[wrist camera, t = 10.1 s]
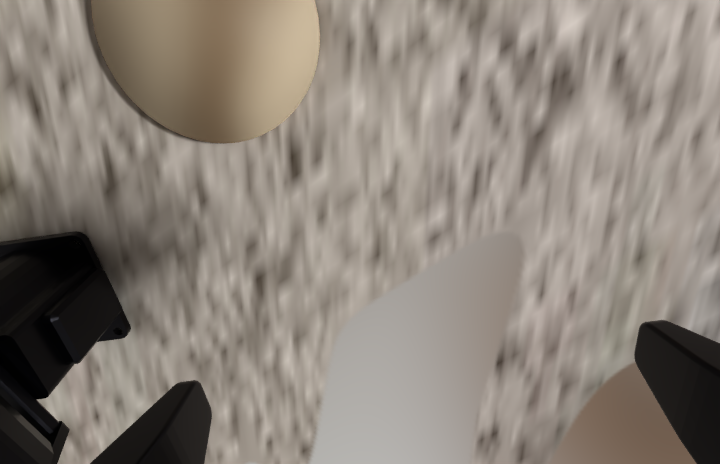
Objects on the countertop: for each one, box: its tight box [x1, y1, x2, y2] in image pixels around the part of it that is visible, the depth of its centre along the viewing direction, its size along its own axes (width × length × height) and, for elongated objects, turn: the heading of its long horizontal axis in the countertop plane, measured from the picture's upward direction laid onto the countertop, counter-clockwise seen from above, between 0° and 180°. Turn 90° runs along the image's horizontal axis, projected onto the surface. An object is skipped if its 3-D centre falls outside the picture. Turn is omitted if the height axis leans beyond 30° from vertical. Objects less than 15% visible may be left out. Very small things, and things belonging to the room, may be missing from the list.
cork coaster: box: [91, 0, 320, 143], centre depth 17 cm, size 9×9×1 cm
